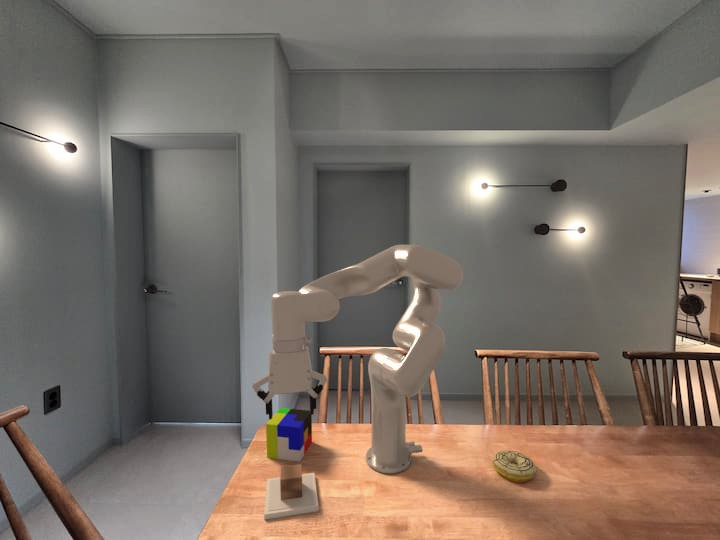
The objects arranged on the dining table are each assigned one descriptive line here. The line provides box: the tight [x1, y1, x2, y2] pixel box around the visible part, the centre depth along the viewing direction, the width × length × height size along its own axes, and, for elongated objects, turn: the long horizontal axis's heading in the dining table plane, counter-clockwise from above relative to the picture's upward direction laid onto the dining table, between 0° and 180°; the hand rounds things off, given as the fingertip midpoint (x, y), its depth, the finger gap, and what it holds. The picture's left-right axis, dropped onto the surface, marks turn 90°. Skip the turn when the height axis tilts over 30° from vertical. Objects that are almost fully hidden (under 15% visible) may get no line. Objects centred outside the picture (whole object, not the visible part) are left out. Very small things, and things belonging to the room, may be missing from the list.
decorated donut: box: [492, 450, 538, 484], centre depth 95 cm, size 10×11×4 cm
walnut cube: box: [279, 463, 303, 500], centre depth 86 cm, size 5×5×5 cm
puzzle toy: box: [265, 407, 313, 462], centre depth 105 cm, size 10×10×10 cm
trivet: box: [263, 472, 320, 520], centre depth 86 cm, size 12×12×1 cm
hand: (291, 414), depth 85 cm, fingers open, 9 cm apart
